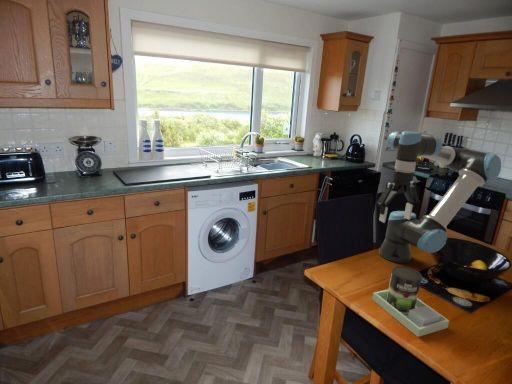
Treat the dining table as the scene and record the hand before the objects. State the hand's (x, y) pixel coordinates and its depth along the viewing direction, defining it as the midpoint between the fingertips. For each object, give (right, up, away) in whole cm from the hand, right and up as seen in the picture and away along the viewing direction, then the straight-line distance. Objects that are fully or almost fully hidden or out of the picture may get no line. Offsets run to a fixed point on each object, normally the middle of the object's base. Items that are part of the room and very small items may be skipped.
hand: (394, 220), depth 142 cm
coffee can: (-4, -31, -14) cm, 35 cm away
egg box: (0, -34, -23) cm, 42 cm away
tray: (-3, -33, -17) cm, 38 cm away
